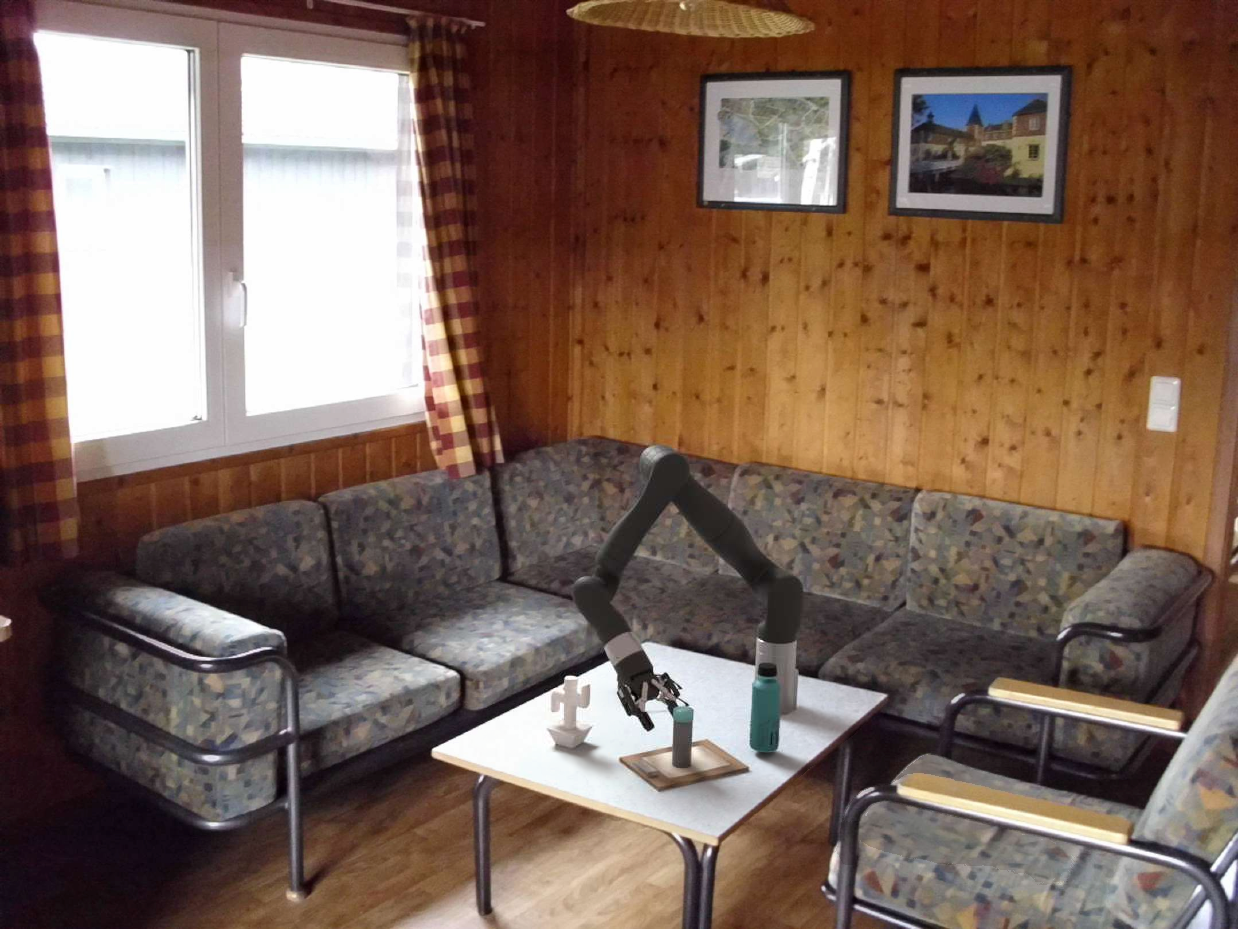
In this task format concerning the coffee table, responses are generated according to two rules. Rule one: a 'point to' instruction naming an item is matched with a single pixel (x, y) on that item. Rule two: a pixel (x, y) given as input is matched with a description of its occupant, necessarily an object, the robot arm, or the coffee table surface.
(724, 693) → the coffee table surface
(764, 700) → the beverage bottle
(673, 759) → the grey capped container
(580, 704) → the figurine
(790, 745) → the coffee table surface
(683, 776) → the clipboard
